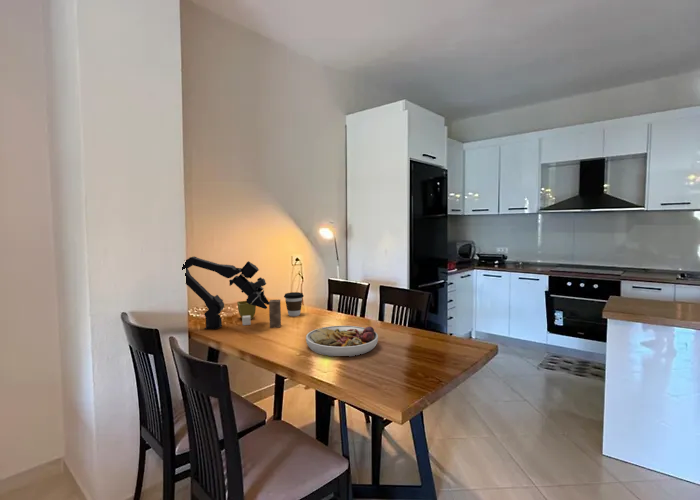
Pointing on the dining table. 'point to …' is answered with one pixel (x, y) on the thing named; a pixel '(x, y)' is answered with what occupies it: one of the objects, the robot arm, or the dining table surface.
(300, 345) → the dining table surface
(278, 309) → the walnut block
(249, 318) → the ceramic cube
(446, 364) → the dining table surface
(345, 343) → the bowl
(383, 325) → the dining table surface
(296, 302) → the coffee cup
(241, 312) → the flower pot
